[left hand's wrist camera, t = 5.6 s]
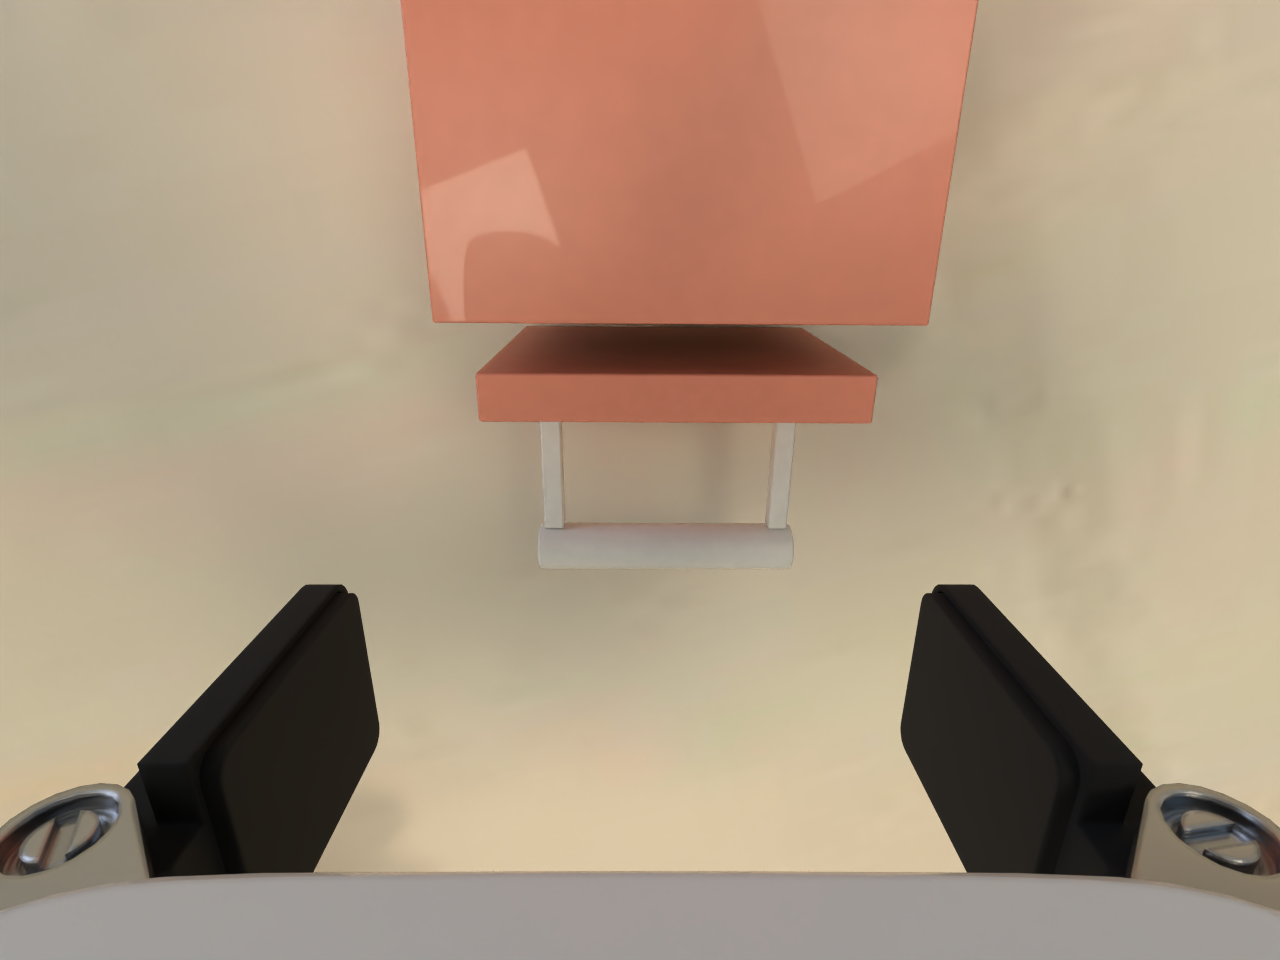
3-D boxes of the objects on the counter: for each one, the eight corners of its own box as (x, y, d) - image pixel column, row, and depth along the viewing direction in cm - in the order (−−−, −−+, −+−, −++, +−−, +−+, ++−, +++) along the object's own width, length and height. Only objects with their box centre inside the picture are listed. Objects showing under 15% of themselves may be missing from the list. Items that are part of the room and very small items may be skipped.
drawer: (785, 519, 26) (844, 636, 19) (535, 518, 26) (495, 635, 19) (866, -381, 17) (1040, -838, 10) (488, -387, 17) (376, -851, 10)
